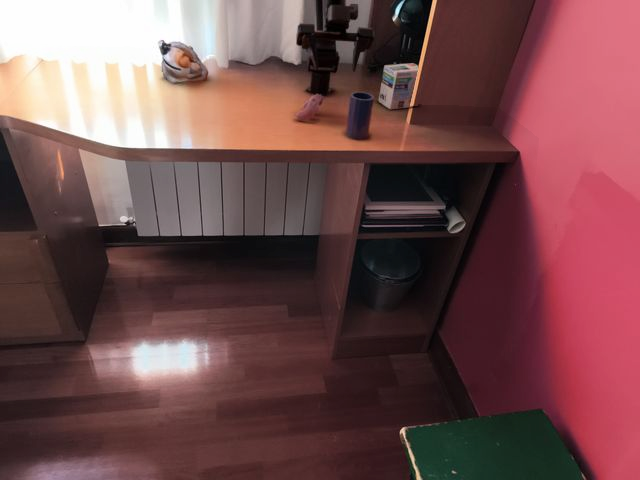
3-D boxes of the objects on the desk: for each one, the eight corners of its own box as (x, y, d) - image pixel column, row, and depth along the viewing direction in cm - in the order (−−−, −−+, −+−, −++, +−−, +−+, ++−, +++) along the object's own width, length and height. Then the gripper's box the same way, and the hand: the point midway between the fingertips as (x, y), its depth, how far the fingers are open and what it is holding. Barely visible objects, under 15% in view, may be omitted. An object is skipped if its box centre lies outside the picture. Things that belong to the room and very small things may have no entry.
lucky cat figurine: (217, 77, 141) (214, 41, 128) (192, 101, 136) (186, 66, 123) (178, 54, 142) (171, 16, 130) (152, 77, 138) (142, 40, 125)
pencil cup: (350, 128, 118) (355, 90, 112) (370, 133, 116) (377, 95, 110) (342, 136, 114) (347, 96, 108) (363, 141, 112) (369, 101, 106)
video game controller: (308, 129, 119) (321, 107, 115) (293, 119, 118) (306, 97, 114) (316, 115, 127) (329, 95, 123) (302, 106, 126) (315, 85, 122)
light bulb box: (390, 110, 131) (396, 72, 124) (377, 101, 135) (383, 64, 129) (419, 106, 135) (427, 69, 129) (406, 98, 140) (413, 62, 133)
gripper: (299, -15, 103) (300, 51, 102) (379, -9, 106) (381, 55, 104) (295, 14, 114) (296, 73, 113) (368, 19, 117) (369, 77, 115)
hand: (335, 70), depth 111 cm, fingers open, 9 cm apart
